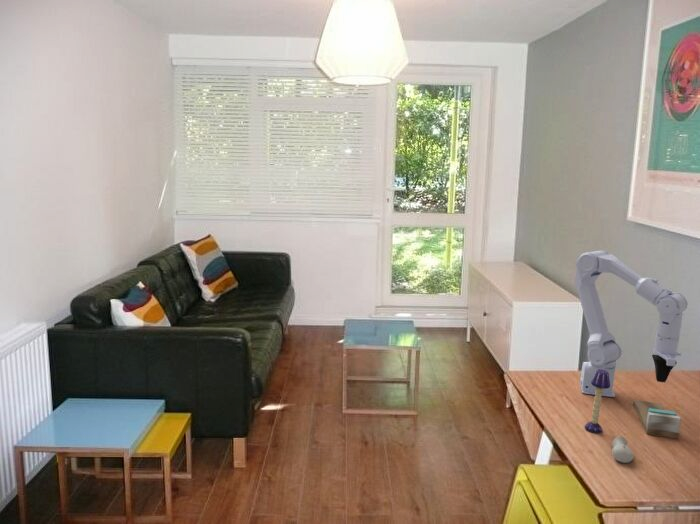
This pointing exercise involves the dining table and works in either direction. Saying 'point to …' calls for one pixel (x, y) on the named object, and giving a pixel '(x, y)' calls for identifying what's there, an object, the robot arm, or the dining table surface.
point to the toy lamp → (598, 399)
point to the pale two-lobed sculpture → (621, 450)
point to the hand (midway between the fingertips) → (660, 381)
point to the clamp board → (657, 420)
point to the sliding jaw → (662, 411)
